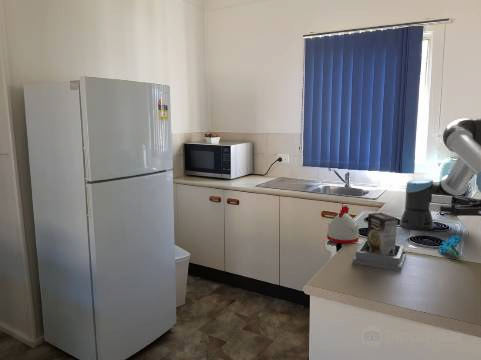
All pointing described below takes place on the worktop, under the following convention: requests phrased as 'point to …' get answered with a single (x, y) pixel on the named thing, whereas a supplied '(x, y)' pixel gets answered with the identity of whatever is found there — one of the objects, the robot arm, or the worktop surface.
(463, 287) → the worktop surface
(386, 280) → the worktop surface
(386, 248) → the coffee box
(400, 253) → the housing
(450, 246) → the gear
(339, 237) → the kitchen timer
